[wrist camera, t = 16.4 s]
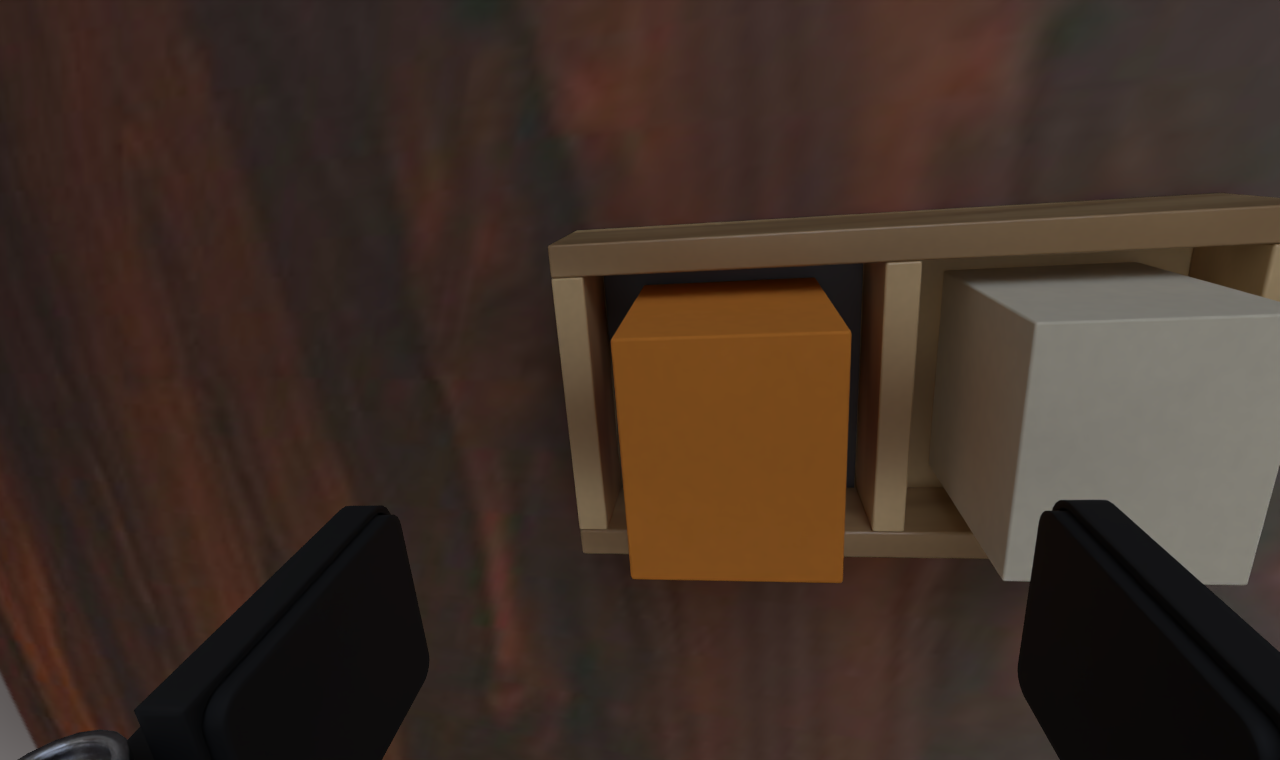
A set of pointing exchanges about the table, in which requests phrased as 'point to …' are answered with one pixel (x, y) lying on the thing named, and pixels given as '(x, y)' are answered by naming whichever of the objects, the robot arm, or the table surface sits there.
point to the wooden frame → (873, 324)
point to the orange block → (734, 431)
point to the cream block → (1108, 408)
